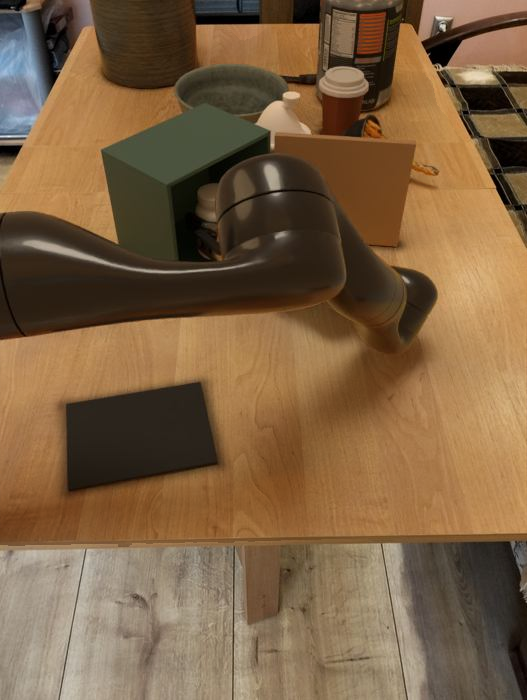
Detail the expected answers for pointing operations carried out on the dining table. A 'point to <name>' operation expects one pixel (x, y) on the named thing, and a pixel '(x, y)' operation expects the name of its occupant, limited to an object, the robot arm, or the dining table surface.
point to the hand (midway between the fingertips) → (203, 209)
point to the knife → (302, 78)
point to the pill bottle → (207, 206)
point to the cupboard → (174, 176)
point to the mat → (137, 436)
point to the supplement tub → (360, 43)
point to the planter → (145, 40)
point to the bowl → (231, 89)
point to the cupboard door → (360, 177)
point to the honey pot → (282, 117)
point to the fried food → (372, 129)
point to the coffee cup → (341, 99)
